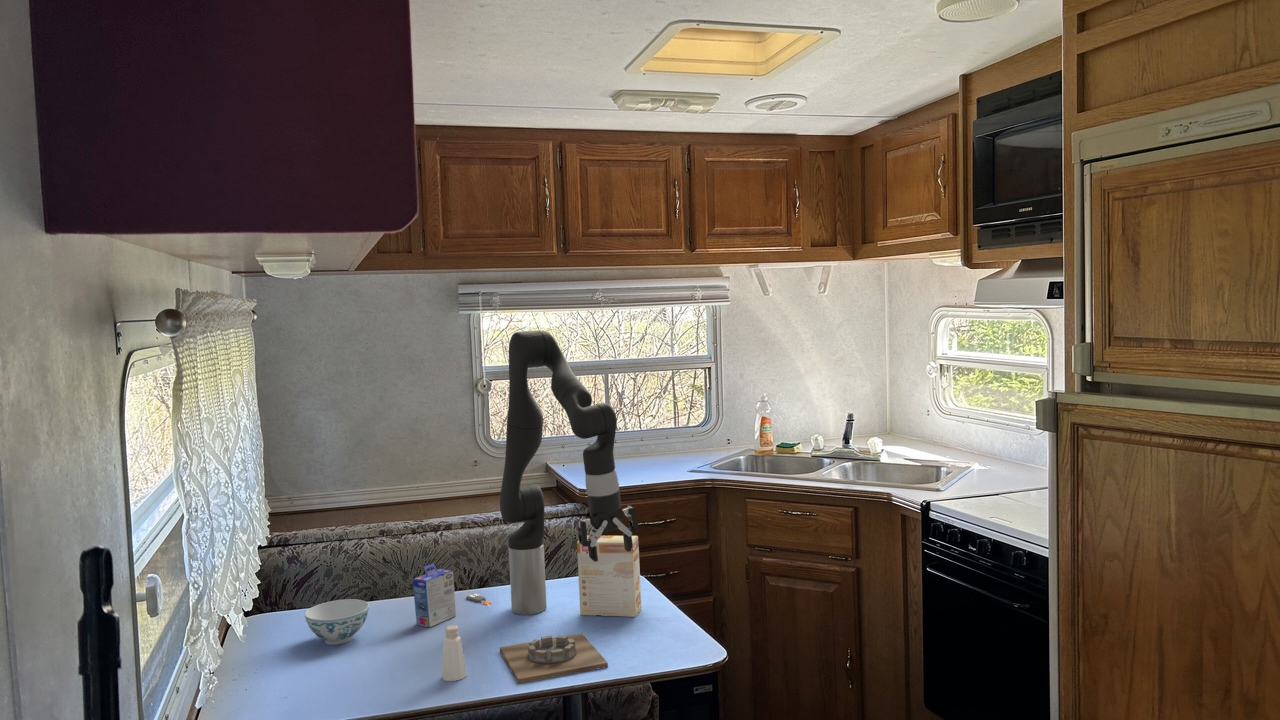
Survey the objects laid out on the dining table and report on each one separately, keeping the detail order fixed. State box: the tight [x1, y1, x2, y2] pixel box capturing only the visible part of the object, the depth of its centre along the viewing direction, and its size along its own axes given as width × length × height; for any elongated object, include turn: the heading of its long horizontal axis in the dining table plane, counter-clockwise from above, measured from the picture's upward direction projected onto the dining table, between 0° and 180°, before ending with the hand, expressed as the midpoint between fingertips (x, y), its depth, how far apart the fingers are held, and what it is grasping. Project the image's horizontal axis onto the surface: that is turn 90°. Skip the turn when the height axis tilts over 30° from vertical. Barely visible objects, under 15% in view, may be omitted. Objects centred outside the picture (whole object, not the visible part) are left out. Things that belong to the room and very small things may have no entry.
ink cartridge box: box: [412, 563, 457, 628], centre depth 230 cm, size 10×6×14 cm, turn 148°
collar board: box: [499, 632, 609, 684], centre depth 201 cm, size 20×20×4 cm
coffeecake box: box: [576, 534, 642, 618], centre depth 231 cm, size 15×7×20 cm, turn 77°
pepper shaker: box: [441, 625, 468, 682], centre depth 193 cm, size 5×5×11 cm
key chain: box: [465, 593, 492, 608], centre depth 244 cm, size 13×4×2 cm, turn 45°
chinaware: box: [304, 598, 370, 646], centre depth 219 cm, size 15×15×8 cm
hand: (611, 555), depth 208 cm, fingers open, 8 cm apart
